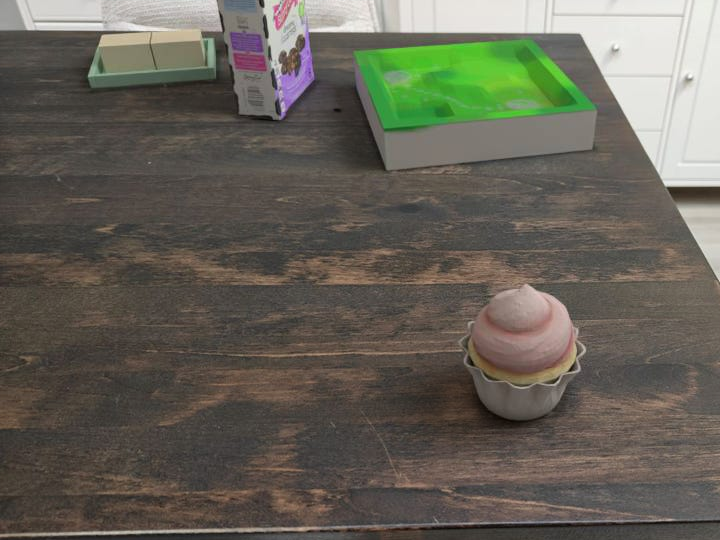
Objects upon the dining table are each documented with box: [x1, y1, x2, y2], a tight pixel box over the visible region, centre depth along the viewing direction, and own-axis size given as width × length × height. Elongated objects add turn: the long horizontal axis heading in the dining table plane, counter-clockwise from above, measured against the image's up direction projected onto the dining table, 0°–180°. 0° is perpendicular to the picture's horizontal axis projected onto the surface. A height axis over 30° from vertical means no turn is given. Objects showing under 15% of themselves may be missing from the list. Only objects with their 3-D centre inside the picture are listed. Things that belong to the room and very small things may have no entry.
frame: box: [87, 37, 217, 89], centre depth 105 cm, size 16×13×2 cm
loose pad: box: [97, 31, 157, 73], centre depth 104 cm, size 6×5×4 cm
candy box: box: [216, 0, 316, 121], centre depth 94 cm, size 14×6×16 cm, turn 171°
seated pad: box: [150, 28, 206, 70], centre depth 105 cm, size 6×5×4 cm
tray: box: [352, 38, 598, 171], centre depth 94 cm, size 25×25×5 cm
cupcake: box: [457, 283, 587, 421], centre depth 54 cm, size 9×9×10 cm
